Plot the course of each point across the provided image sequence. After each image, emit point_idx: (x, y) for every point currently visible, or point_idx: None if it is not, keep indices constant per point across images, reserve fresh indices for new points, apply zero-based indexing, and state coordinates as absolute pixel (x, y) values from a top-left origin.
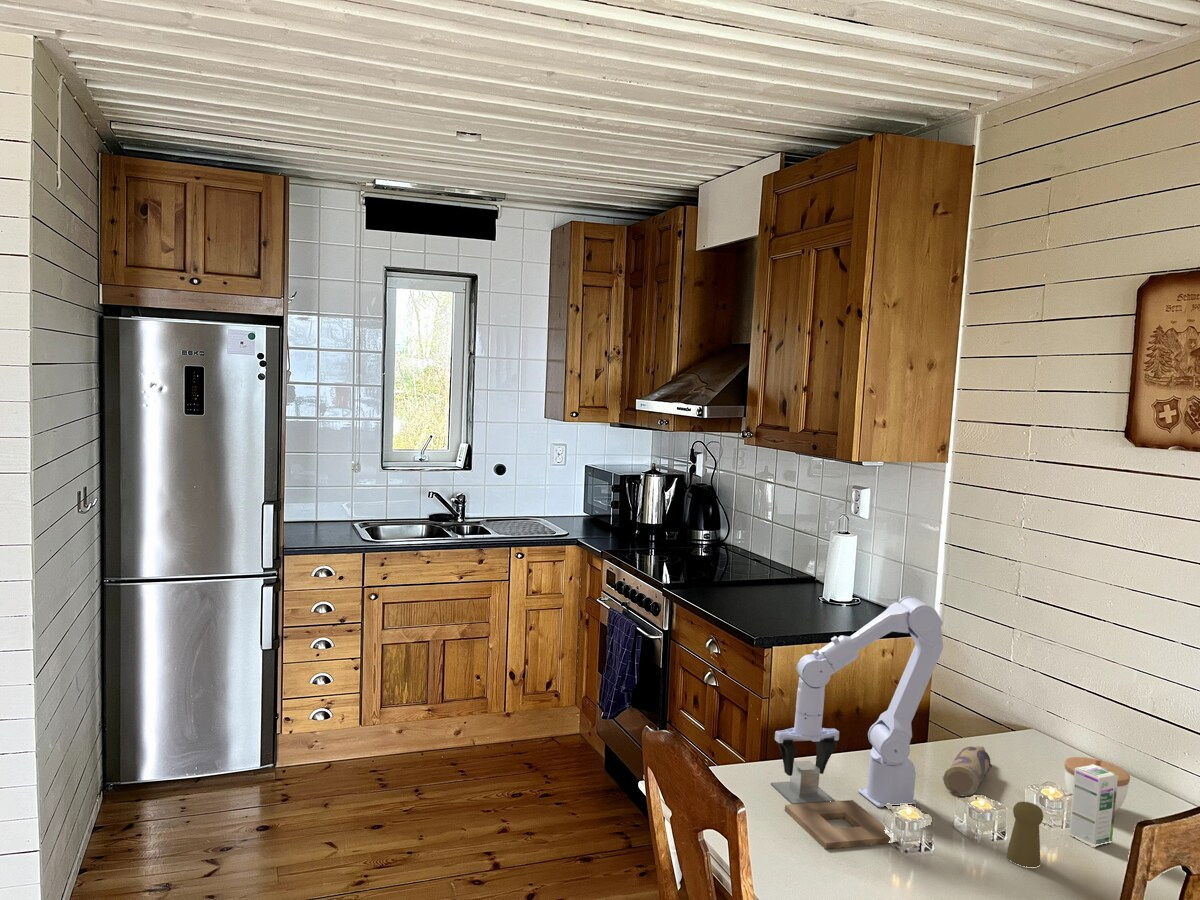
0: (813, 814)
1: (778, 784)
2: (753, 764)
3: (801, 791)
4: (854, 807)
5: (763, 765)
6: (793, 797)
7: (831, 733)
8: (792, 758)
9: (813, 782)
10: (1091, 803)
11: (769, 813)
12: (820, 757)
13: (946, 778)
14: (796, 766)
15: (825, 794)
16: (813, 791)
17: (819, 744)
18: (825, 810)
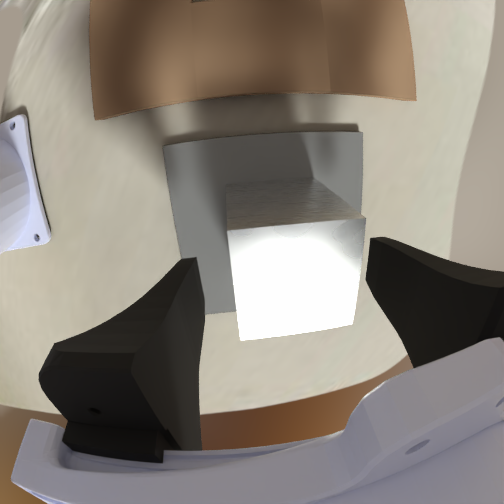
0: (344, 4)
1: None
2: (321, 390)
3: (312, 183)
4: (120, 49)
5: (298, 390)
6: (337, 178)
7: (76, 499)
8: (447, 268)
9: (258, 200)
10: None
11: (450, 98)
12: (187, 334)
13: None
14: (358, 274)
15: (181, 200)
16: (250, 187)
17: (188, 419)
18: (274, 21)
